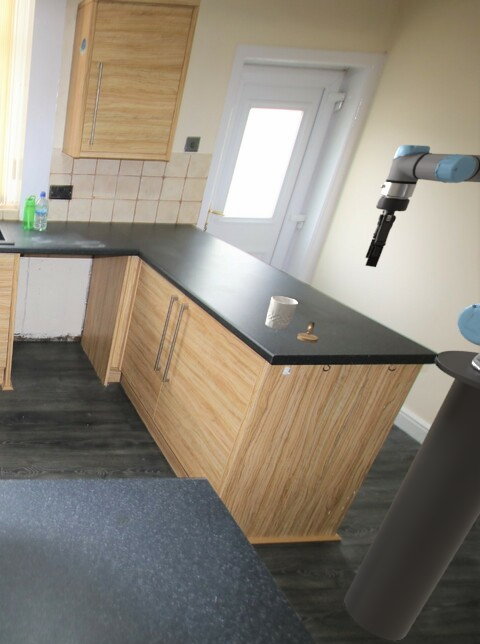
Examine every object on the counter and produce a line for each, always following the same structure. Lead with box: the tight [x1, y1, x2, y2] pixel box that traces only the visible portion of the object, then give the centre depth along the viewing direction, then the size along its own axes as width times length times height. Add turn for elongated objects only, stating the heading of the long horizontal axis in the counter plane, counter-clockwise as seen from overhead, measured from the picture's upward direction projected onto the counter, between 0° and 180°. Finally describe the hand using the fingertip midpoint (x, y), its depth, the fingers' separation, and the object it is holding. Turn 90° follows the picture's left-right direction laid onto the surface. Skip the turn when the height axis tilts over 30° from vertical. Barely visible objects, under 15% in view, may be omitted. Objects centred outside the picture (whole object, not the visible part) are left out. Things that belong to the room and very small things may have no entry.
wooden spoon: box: [296, 321, 319, 344], centre depth 163 cm, size 19×6×2 cm, turn 142°
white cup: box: [264, 295, 299, 331], centre depth 166 cm, size 8×8×10 cm
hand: (370, 262), depth 157 cm, fingers open, 13 cm apart
